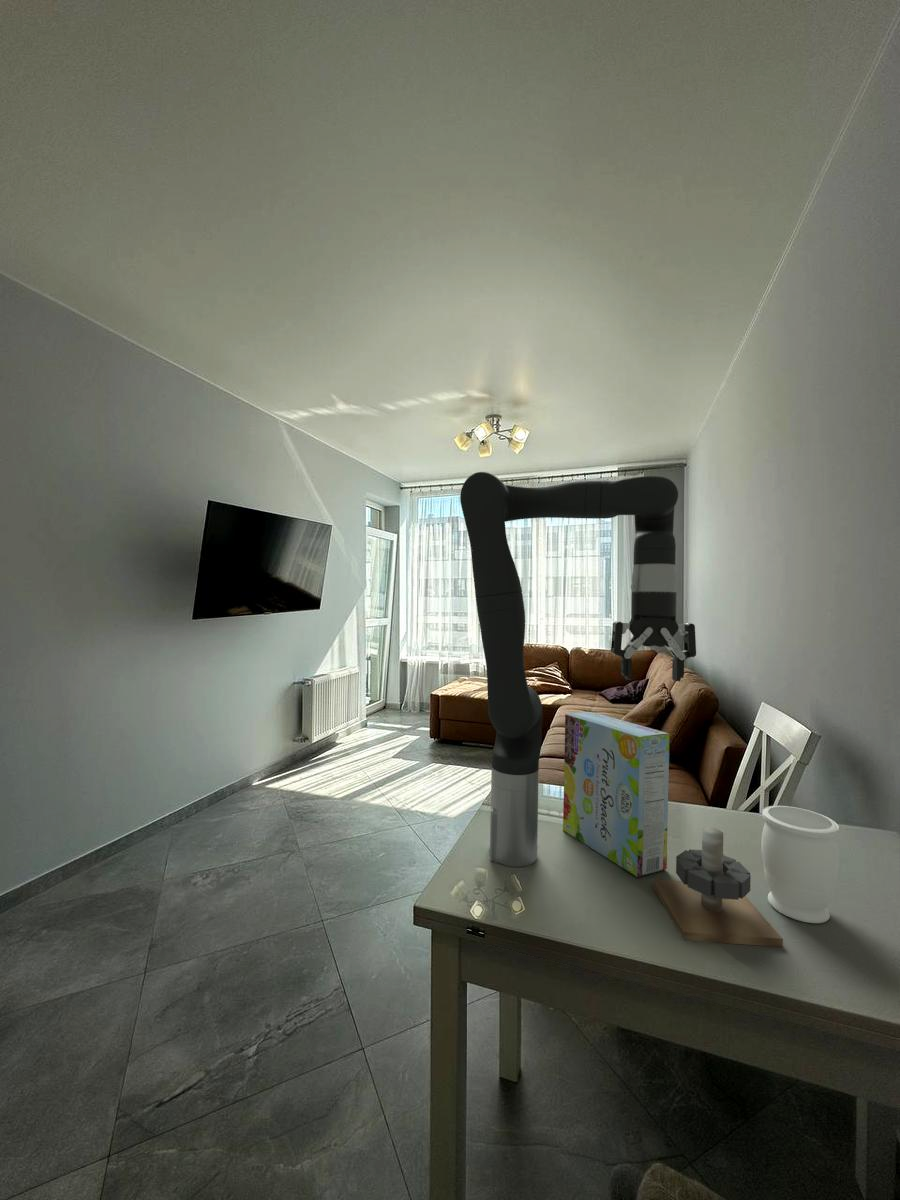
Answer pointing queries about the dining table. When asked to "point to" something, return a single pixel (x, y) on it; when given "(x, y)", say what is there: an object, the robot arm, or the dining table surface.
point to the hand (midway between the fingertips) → (652, 679)
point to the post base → (715, 923)
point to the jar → (800, 861)
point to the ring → (713, 876)
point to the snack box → (617, 790)
